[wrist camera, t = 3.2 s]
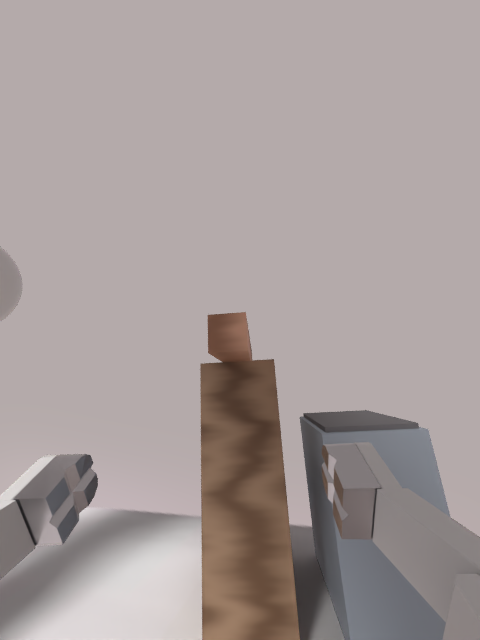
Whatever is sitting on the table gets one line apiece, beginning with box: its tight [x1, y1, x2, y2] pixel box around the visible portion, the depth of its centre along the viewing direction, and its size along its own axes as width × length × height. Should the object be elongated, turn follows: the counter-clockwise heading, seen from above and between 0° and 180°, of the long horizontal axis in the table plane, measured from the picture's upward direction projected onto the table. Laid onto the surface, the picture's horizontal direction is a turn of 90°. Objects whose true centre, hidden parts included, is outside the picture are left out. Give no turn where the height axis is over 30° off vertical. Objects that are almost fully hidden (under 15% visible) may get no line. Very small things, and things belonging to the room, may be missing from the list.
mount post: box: [201, 359, 300, 640], centre depth 27 cm, size 8×12×24 cm, turn 176°
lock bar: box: [208, 312, 252, 362], centre depth 28 cm, size 3×22×3 cm, turn 176°
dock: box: [300, 410, 450, 640], centre depth 26 cm, size 10×12×17 cm
